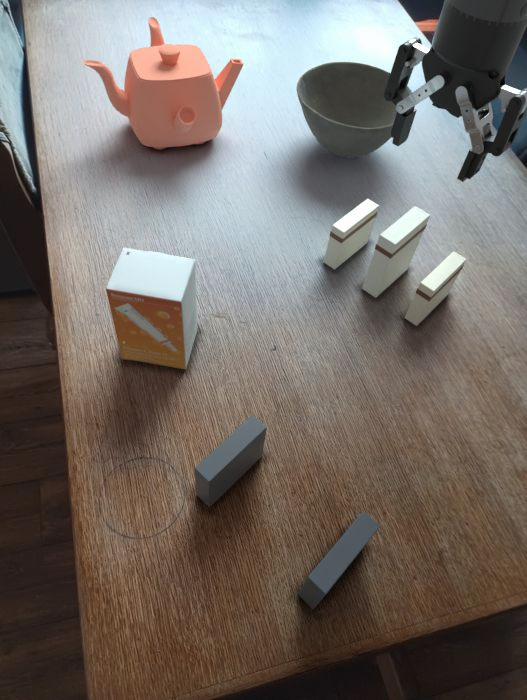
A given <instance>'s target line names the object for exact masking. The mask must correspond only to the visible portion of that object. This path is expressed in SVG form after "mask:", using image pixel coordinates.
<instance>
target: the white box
mask: <svg viewBox="0 0 527 700" xmlns="http://www.w3.org/2000/svg"><path fill="white" fill-rule="evenodd" d="M430 217H431V214H429V213H428V212H426V211H425V210H423V209H421V208H419V207H418V206H416V205H415V206H413V207H412V208H411V209H409V210H408V211H406V213H405V214H403V215H402V216H401V217H399V218H398V219H397V220H396V221H394V222H393V223H392V224H391V225H390V226H389V227H387V228H386V229H385V230H384V231H383V232H381V233H380V234H379V237H378V239H377V241H376V244H375V247H374V251H373V255H372V258H371V260H370V263H369V265H368V270H367V272H366V276H365V279H364V281H363V284H362V288H361V289H362V290H363V291H364V292H366V293H367V294H369V295H371V296H372V297H374V298H375V299H376V298H377V297H379V296H380V295H381V294H382V293H383V292H384V291H385V290H386V289H387V288H389V287H390V286H391V285H392V284H393V283H394V282H395V281H396V280H398V279H399V278H400V277H401V276H402V275H403V274H404V273H405V272H406V271H407V270H408V269H409V267H410V265H411V262H412V260H413V258H414V255H415V253H416V251H417V248H418V247H419V244H420V241H421V238H422V237H423V233H424V232H425V230H426V228H427V226H428V225H427V224H428V222H429V220H430Z"/></svg>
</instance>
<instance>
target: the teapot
mask: <svg viewBox="0 0 527 700" xmlns="http://www.w3.org/2000/svg"><path fill="white" fill-rule="evenodd" d="M147 22H148V28H149V35H150V46H146V47H141V48H137V49H133V50H131V51H130V53H129V55H128V58H127V64H126V68H125V69H126V70H125V75H124V85H123V86H124V88H123V89H122V88H120V87H119V86H118V85H117V83H116V80H115V77H114V75H113V72H112V71H111V69H110V67H109V66H107V64H105V63H103V62H102V61H98V60H90V59H89V60H88V59H87V60H83V61H82V64H83V65H84V66H86V67H89V68H90V69H92V70H94V71H95V72H96V73H97V74H98V75H99V77H100V79H101V81H102V83H103V85H104V88H105V92H106V94H107V97H108V100H109V102H110V103H111V105H112V107H113V108H114V109H115V111H117V112H118V113H119V114H120V115H122V116H124V117H127V120H128V121H129V124H130V126H131V129H132V130H133V132H134V135H135V136H136V138H137V139H138V141H139V143H140V144H142V145H143V146H146V147H149V148H154V149H155V150H165V149H166V148H176V147H184V146H190V145H202V144H205V143H206V142H207V141H212V140H213V139H215V138H216V137H217V136H218V134H219V132H220V131H221V128H222V126H223V109H224V107H225V105H226V103H227V100H228V98H229V96H230V94H231V92H232V91H233V88H234V86H235V84H236V81H237V79H238V77H239V75H240V73H241V71H242V69H243V66H244V62H243V60H242V59H241V58H230V59H229V61H228V62H227V64H226V65H225V66H224V67H223V68H222V69H221V71H220V72H219V74H218V75H217V76H216V77H214V74H213V71H212V68H211V66H210V63H209V61H208V59H207V57H206V55H205V54H204V52H203V50H202V49H201V48H200V47H199V46H198V45H194V44H185V43H184V44H183V43H182V44H179V43H178V44H175V43H166V42H165V40H164V36H163V33H162V28H161V25H160V23H159V21H158V20H157V18H155V17H153V16H150V17H148V21H147Z"/></svg>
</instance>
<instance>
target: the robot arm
mask: <svg viewBox="0 0 527 700" xmlns="http://www.w3.org/2000/svg"><path fill="white" fill-rule="evenodd" d="M438 18H439V19H438V21H437V24H436V26H435V27H436V28H435V31H434V34H433V37H432V41H431V47H430V48H428V47H426V46H425V45H423V43H422V40H421V38H420V37H418V36H415V37H413V38H410V39H409V40H406V41H405V42H403V43H402V44H400V45H399V46H398V49H397V52H396V55H395V57H394V58H395V59H394V61H393V64H392V67H391V71H390V72H389V73H390V76H389V79H388V82H387V86H386V89H385V92H384V98H385V99H386V100H387V101H392V102H393V103H394V104H395V106H396V110H397V113H396V117H395V120H394V124H393V128H392V130H391V139H392V145H394V146H396V147H399V146H401V145H402V144H404V143H405V142H406V141H407V140H408V138H409V136H410V132H411V130H412V126H413V124H414V120H415V118H416V114H417V112H418V111H417V110H418V109H416V108H415V107H416V106H417V105H418V104H420V103H421V102H423V101H424V100H426V99H427V98H429V100H430V101H431V102H432V104H431V106H433V107H435V108H437V109H440V110H446V112H447V113H449V115H451V116H452V117H455V118H457V119H459V118H461V117H462V121H463V126H464V131H465V132H466V133H468V137H469V140H470V144H471V148H470V149H469V150H468V152H467V154H466V157H465V159H464V161H463V164H462V166H461V168H460V170H459V172H458V175H457V178H456V179H457V180H458V181H460V182H461V183H464V182H465V181H467V179H468V180H471V179H472V178H474V177H475V175H477V174H478V173H479V172H480V171H481V169H482V166H483V164H484V163H485V160H486V158H487V156H488V154H491V155H492V156H493V157H500V156H501V155H502V154H504V152H506V151H507V150H508V149H510V148H511V147H512V146H513V145H514V142H515V140H516V138H517V136H518V133H519V131H520V129H521V126H522V125H523V121H524V119H525V117H526V115H527V87H525V88H523V89H518V88H516V87H513V86H510V85H507V82H506V78H507V77H506V76H507V72H508V69H509V67H510V65H511V63H512V60H513V59H514V56H515V53H516V52H517V49H518V47H519V46H520V45H519V44H520V43H521V41H522V38H523V35H524V33H525V31H526V28H527V0H444V1H443V6H442V7H441V12H440V15H439V17H438ZM420 63H421V69H422V73H423V77H424V82H425V83H424V84H423V85H420V87H418V88H417V89H415V90H414V91H412V93H411V94H410V93H409V92H408V91H407V90H406V88H407V86H408V85H409V81H410V80H411V77H412V73H413V71H414V68H415V67H417V66H418V65H419V64H420ZM496 99H499V100H500V103H501V105H500V113H502V114H503V116H502V119H501V122H500V124H499V127H498V129H497V131H496V133H495V131H494V126H493V125H494V124H493V119H494V113H493V107H492V102H493V101H494V100H496Z"/></svg>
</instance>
